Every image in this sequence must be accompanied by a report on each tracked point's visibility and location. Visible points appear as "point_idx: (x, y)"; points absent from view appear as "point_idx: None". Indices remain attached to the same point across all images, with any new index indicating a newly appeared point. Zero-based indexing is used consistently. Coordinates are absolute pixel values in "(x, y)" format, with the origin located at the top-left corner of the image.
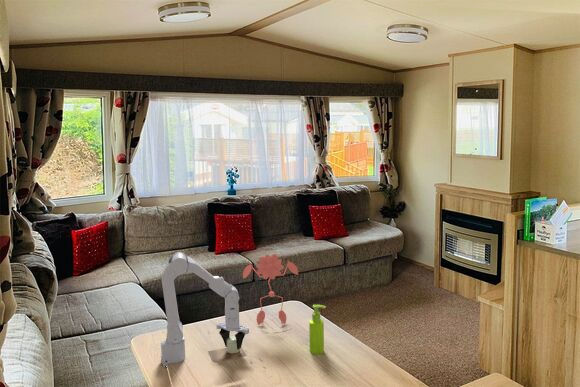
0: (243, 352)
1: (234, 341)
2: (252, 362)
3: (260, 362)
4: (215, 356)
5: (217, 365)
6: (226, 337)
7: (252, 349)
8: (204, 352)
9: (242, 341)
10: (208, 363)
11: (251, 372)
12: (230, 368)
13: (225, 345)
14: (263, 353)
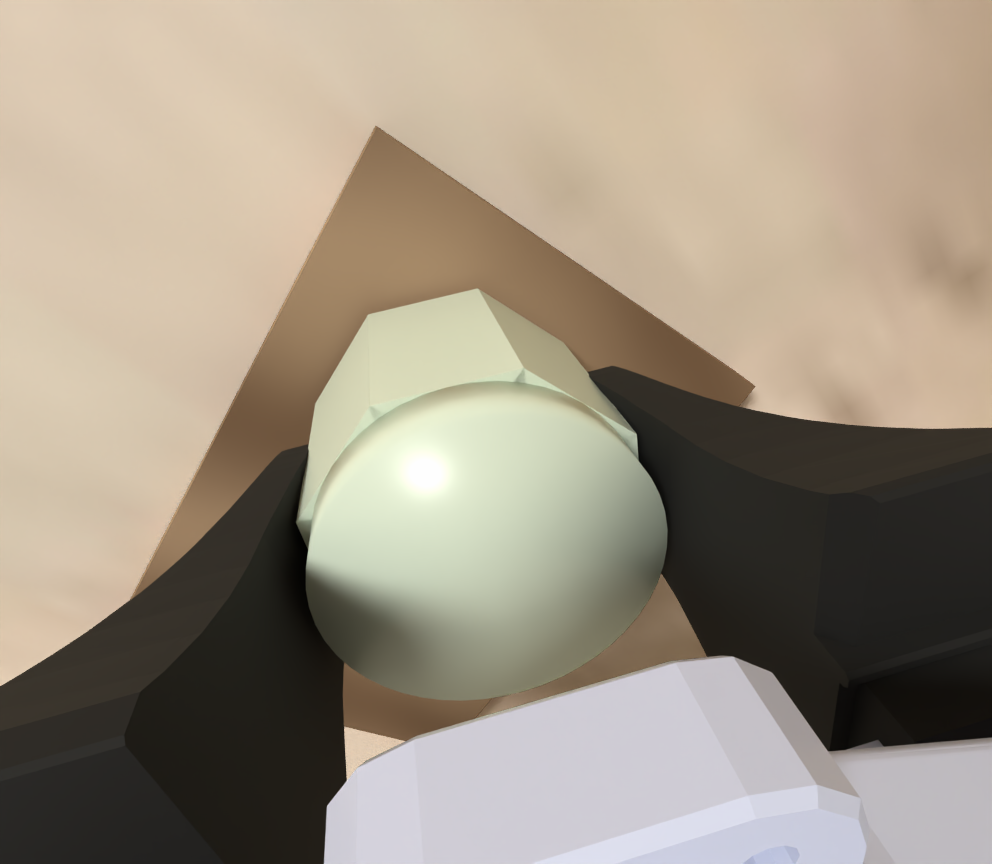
0: (643, 339)
1: (621, 627)
2: (864, 409)
3: (972, 342)
4: (348, 670)
5: (502, 698)
6: (317, 686)
7: (659, 35)
8: (26, 646)
9: (698, 396)
10: (374, 737)
11: None
12: (679, 647)
13: None
14: (937, 52)
